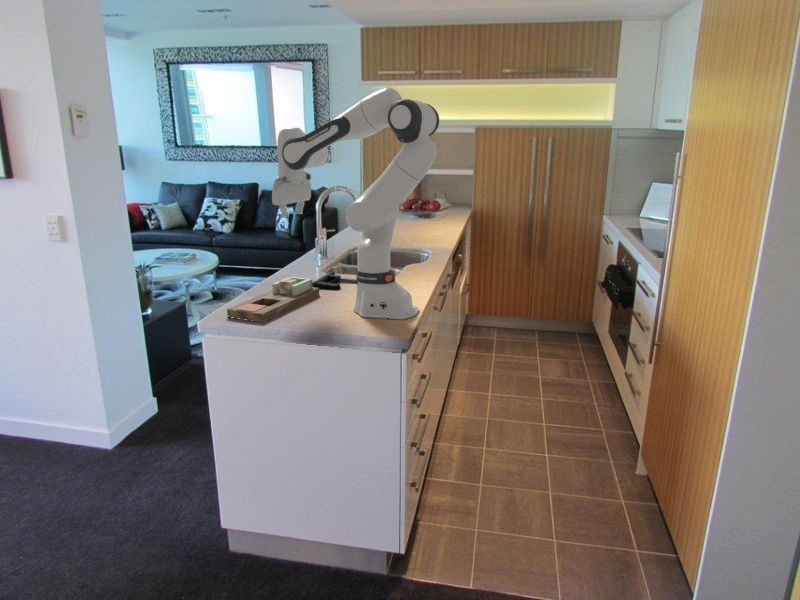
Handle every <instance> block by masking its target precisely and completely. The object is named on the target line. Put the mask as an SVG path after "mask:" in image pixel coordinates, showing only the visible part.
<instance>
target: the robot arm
mask: <svg viewBox="0 0 800 600" xmlns="http://www.w3.org/2000/svg"><path fill="white" fill-rule="evenodd" d="M439 125H440V116H439V113H438V111H437V110H436V109H435V108H434V106H432V105H431V104H429V103H426V102H423V101H420V100H417V99H410V98H405V99H403V97H402V96H401V94H400V93H399V92H398V91H397V90H396V89H394V88H392V87H386V88H382V89H379V90H377V91H375V92H373V93H371V94H369V95H367V96H366V97H364V98H362V99H361V100H360V101H357V103H355V104H354V105H352V106H351V107H350V108H348V109H346V110H345V111H344V112H342V113H341V114H339V115H338V116H336V117H335V118H334V119H332V120H330V121H328V122H326V123H324V124H322V125H321V126H319V127H317V128H315V129H314V130H312V131H310V132H309V133H305V132H304V131H303V130H302V128H300V127H287V128H283V129H281V130H280V131H279V133H278V135H277V157H278V165H277V167H278V168H277V169H278V177H276V178H275V180H274V182H273V184H272V193H271V202H272V205H274V206H278V207H279V209H280V212H281V217H282V218H289V211H288V209H287V208H288V205H290V204H294V203H295V204H296V203H297V208H296V209H295V211H296V215H303V213H304V212H303V211H304V206H305V202H306V201H310V200H311V197H312V184H311V180H312V174H311V173H309V172H307V171H306V170H305V169H311V168H318V167H321V166H324V165H325V164H326V163H327V162H328V160H329V157H330V156H329V154H330V153H329V152H330V151H329V148H328V147H330V146H331V145H333V144H335V143H338V142H342V141H343V142H344V141H350V140H363V139H366V138H369V137H371V136H373V135H376V134H378V133H379V132H381V131H382V130H384V129H385V128H387V127H390V129H391V131H392V132H393V133H394V135H395V136H396V138H397V140H398V141H399V143H403V144H402V146H401V148H400V150H399V151H398V152H397V154H396V155H395V156H394V157H393V159H392V161H390V163H389V164H388V166H387V167H386V168H385V170H384V171H383V172H382V173H381V175H379V177H378V178H377V179H376V180H375V181H374V182H373V183H371V184H370V186H368V187H367V188H366V189H365V191H363V192H362V194H361V195H360V196H358V198H356V199H355V200H354V201H352V203H350V204H349V205H348V206H347V208H346V209H345V210H346V211H345V220H346V223H347V225H348V226H349V228H350V229H351V230H353V231H355V232H360V233H361V232H362V234H361V239H360V241H359V243H358V245H357V270H356V279H357V283H356V286H357V290H356V298H355V303H354V306H353V307H354V308H353V311H354V312H355V313H357V314H358V315H359V316H360V317H361V318H371V319H372V318H373V319H374V318H375V319H376V318H377V319H387V318H389V320H391V319H392V320H406V319H407V318H408V319H410V317H411V318H412V317H415V316H416V315H417V314H418V313H419V312H420V308H419V306H417V305H413V299H412V295H411V293H410V292H409V291H408V290H407V289H405V288H404V287H403V286H402V285H401V284H400V283H399V282H397V281H396V277H397V275H398V272H397V271H396V272H394V271H392V269H391V248H392V245H391V244H392V240H393V235H394V230H395V225H396V222H397V219H398V217H399V214H400V207H399V206H400V204H402V203H403V202H404V201H406V200H407V198H409V197H410V195H411V194H412V193H413V191H414V190H415V189H416V188H417V186H419V184H420V183H421V182H422V180H423V179H425V178H424V177H425V176H426V175H427V174H428V173H429V171H430V169H431V167H432V166H433V164H434V162H435V160H436V158H437V155H438V148H437V146H436V144H435V143H434V142H433V140H431V138H430V137H431V136H433V135H434V134H435V133H436V131H437V130H438V128H439ZM408 319H407V320H408Z"/></svg>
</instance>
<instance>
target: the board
mask: <svg viewBox="0 0 800 600" xmlns="http://www.w3.org/2000/svg"><path fill="white" fill-rule="evenodd" d="M312 287H313V286H312ZM319 296H320V288H315V287H313V288H311V289H309V290H307V291H305V292H303V293H300V294H298V295H296V296H293V295H292V294H291V295H290V294H282V293H280V292H279V293H273V289H271V290H270V291H268V292H266V293H263V294H260V295H258V296H255V297H253V298H250V299H249V300H246V301H243V302H241V303H238V304H236V305H233V306H231V307H229V308H227V309H226V315H227V317H228V316H229V317H234V318H240V319H247V320H253V321H252V322H254V321H258V322H257V323H261V322H264V323H266V322H267V320H268V321H270V320H272V319H274V318H276V317H278V316H280V315H282V314H284V312H285V313H286V311H287V312H289V311H291V310H293V309H295V308H297V307H299V306H301V305H303V304H305V303H307V302H309V301H311V300H313V299H316V298H318V297H319ZM247 304H257V305H265V306H267V307H265V308H263V309H261V310H258V311H256V312H249V311H241V310H237V309H238V308H240V307H243V306H245V305H247ZM277 315H278V316H277ZM275 316H276V317H275ZM273 317H274V318H273ZM271 318H272V319H271ZM240 319H239V320H240ZM269 319H270V320H269ZM247 320H246V321H247ZM265 321H266V322H265Z"/></svg>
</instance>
